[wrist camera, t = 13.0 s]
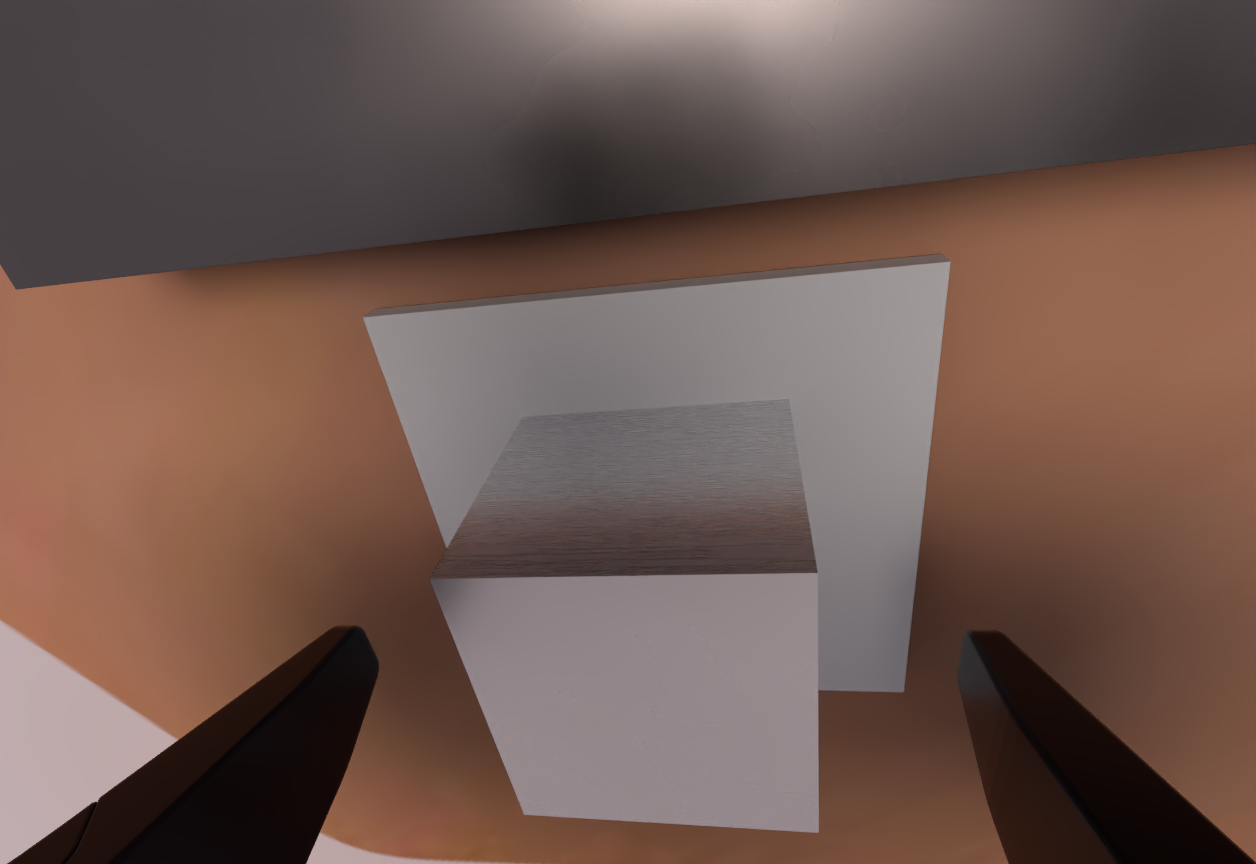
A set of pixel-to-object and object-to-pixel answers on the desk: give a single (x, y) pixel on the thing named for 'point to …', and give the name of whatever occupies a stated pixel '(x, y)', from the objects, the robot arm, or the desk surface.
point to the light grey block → (646, 616)
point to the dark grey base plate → (557, 112)
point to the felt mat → (712, 374)
